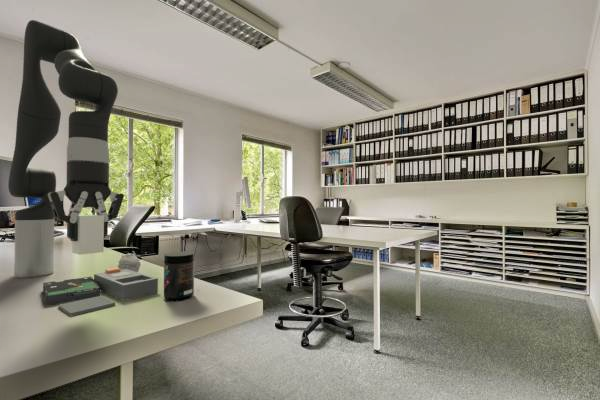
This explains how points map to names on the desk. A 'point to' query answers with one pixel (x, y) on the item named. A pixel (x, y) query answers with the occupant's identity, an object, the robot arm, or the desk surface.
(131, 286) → the desk organizer
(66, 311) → the mat
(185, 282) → the supplement container
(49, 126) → the robot arm
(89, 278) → the disk drive
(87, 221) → the charger
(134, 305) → the desk surface
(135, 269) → the frog figurine
